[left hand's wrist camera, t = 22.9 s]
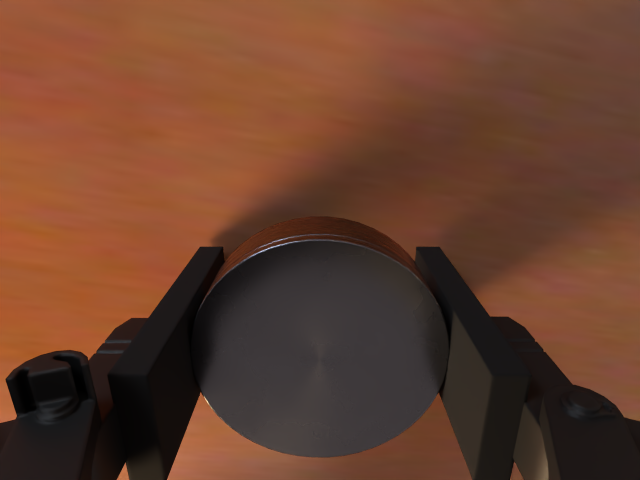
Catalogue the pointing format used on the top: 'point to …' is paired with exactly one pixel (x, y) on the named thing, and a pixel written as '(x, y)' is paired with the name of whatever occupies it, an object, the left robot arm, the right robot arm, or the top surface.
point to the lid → (319, 339)
